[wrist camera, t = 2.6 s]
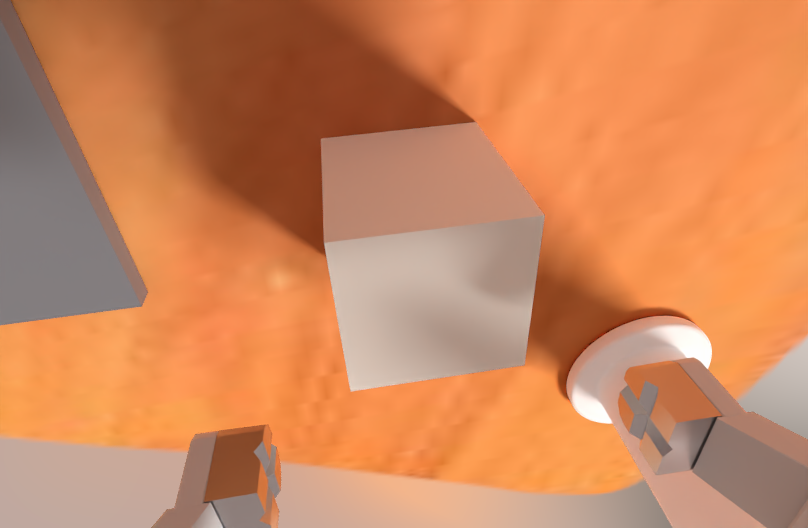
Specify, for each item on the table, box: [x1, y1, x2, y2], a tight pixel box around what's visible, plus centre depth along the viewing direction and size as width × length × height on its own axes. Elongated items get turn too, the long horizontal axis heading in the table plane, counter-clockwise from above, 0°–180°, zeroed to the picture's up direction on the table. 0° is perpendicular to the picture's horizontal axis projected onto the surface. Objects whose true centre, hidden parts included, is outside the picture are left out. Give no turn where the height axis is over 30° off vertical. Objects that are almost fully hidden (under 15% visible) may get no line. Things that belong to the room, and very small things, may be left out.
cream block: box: [321, 122, 545, 391], centre depth 15 cm, size 5×5×6 cm
